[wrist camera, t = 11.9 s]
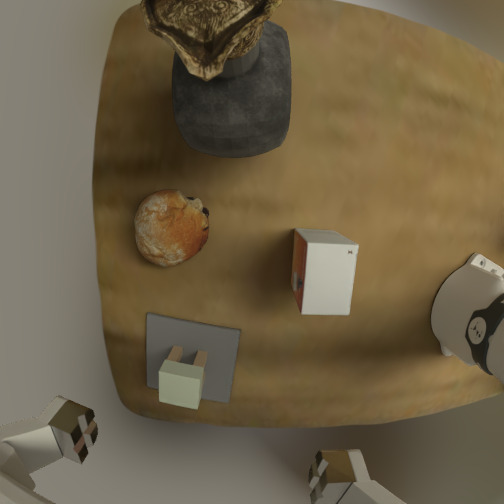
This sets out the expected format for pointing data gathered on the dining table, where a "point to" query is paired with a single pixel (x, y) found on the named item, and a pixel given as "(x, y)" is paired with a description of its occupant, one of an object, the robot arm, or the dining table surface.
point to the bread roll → (170, 227)
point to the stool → (182, 379)
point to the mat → (193, 351)
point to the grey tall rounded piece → (226, 73)
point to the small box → (323, 271)
